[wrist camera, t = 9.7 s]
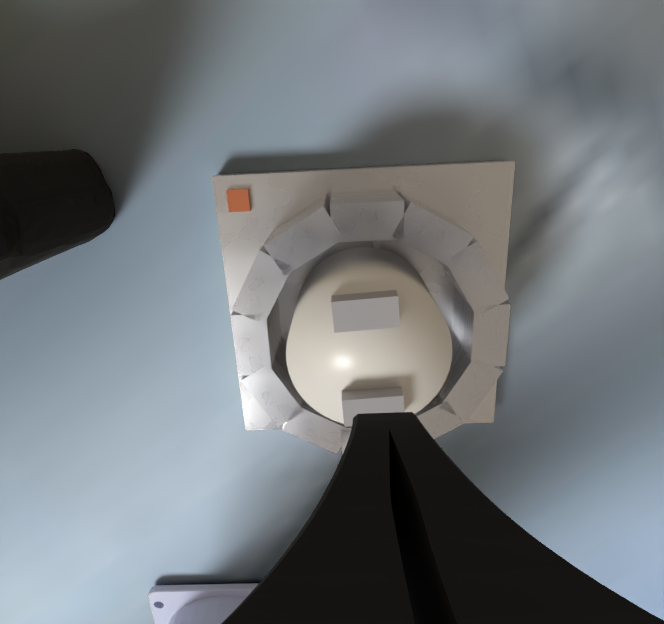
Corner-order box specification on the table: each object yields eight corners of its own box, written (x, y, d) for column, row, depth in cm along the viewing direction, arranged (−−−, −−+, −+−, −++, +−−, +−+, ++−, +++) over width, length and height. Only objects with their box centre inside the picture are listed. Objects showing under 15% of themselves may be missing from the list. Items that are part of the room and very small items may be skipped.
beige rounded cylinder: (431, 366, 20) (457, 431, 16) (304, 377, 20) (295, 443, 16) (428, 240, 18) (455, 274, 14) (288, 253, 18) (272, 291, 14)
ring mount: (488, 412, 22) (517, 467, 18) (248, 420, 22) (231, 475, 18) (508, 159, 18) (549, 166, 14) (217, 174, 18) (187, 184, 15)
